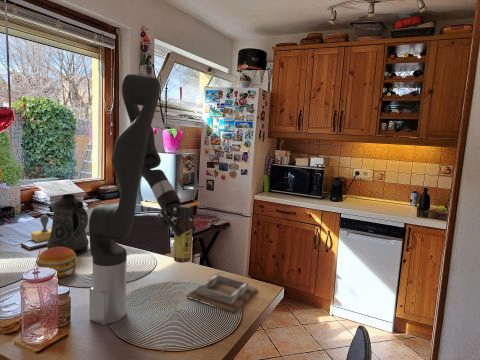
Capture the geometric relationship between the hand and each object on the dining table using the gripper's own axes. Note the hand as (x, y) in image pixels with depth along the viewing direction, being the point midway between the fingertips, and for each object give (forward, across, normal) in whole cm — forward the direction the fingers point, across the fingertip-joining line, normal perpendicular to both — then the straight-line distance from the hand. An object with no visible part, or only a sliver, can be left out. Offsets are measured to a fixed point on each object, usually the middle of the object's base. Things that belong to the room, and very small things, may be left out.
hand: (187, 233), depth 118 cm
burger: (-15, -25, +44) cm, 53 cm away
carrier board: (+24, +5, +4) cm, 25 cm away
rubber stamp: (-46, -10, +74) cm, 88 cm away
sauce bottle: (+6, 0, +9) cm, 11 cm away
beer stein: (-29, -9, +58) cm, 66 cm away
